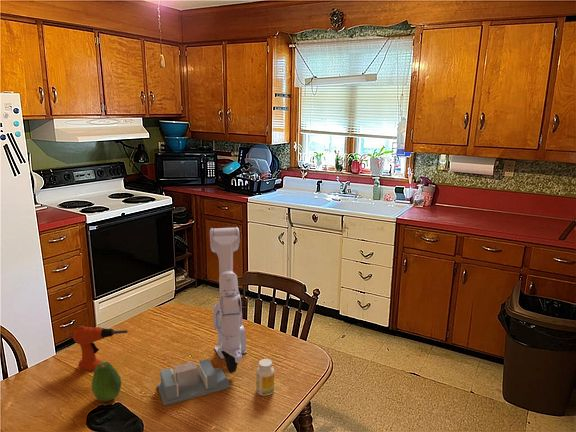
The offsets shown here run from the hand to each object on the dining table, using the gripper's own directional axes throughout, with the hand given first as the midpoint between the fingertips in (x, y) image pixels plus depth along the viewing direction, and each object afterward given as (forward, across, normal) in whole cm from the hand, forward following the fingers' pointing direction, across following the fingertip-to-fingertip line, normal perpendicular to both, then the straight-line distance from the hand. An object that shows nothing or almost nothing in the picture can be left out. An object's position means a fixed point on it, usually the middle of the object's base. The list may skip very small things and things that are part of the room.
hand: (231, 371), depth 138 cm
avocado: (+2, -5, -36) cm, 37 cm away
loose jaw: (+1, 0, -8) cm, 8 cm away
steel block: (+1, 0, -14) cm, 14 cm away
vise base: (+2, 0, -12) cm, 12 cm away
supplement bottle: (+2, +11, +7) cm, 13 cm away
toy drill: (+2, -23, -36) cm, 43 cm away
